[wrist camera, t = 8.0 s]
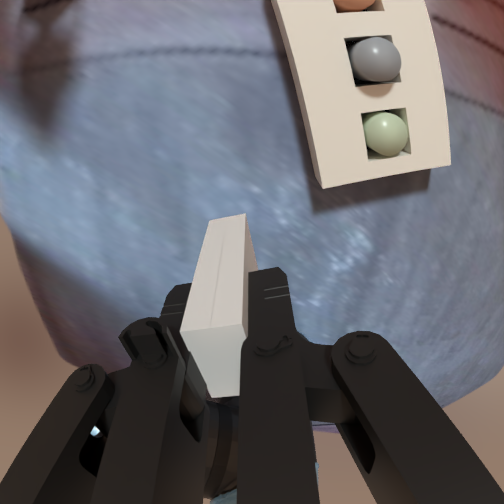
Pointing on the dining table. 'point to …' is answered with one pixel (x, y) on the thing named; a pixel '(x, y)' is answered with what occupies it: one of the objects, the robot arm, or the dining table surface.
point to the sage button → (384, 132)
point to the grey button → (374, 60)
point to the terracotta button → (351, 5)
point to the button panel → (364, 87)
